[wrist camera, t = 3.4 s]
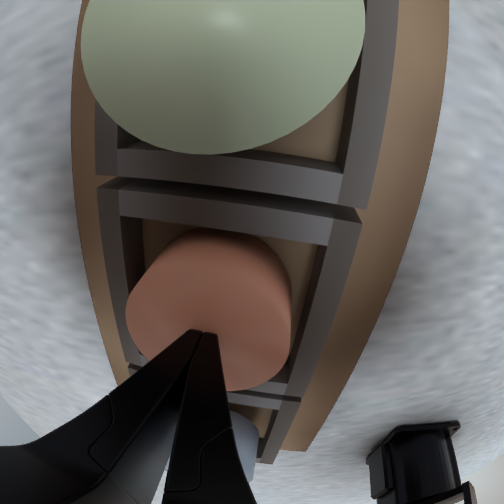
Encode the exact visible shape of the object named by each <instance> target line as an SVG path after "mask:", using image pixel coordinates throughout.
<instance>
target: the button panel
mask: <svg viewBox="0 0 504 504" xmlns="http://www.w3.org/2000/svg"><path fill="white" fill-rule="evenodd" d="M89 1H90V0H82V4H81V10H80V15H79V21H78V28H77V35H76V43H75V52H74V62H73V74H72V92H71V153H72V171H73V184H74V195H75V205H76V213H77V221H78V228H79V235H80V241H81V248H82V253H83V259H84V264H85V269H86V274H87V279H88V284H89V289H90V293H91V297H92V302H93V306H94V310H95V314H96V318H97V321H98V325H99V329H100V332H101V336H102V339H103V343H104V346H105V349H106V353H107V356H108V359H109V362H110V365H111V368H112V371H113V374H114V377H115V380H116V382H117V385H118V386H119V385H120V384H121V383H123V382H124V381H125V380H126V379H128V378H129V377H130V376H132V375H133V374H134V373H135V372H137V371H138V370H139V369H140V368H142V367H143V366H144V365H145V364H147V363H148V362H149V360H148V359H147V358H146V357H145V356H144V355H143V354H142V353H141V352H140V350H139V349H138V348H137V346H136V345H135V343H134V341H133V339H132V338H131V335H130V333H129V331H128V327H127V323H126V316H125V314H126V304H127V300H128V298H129V295H130V293H131V292H132V290H133V289H134V287H135V286H136V285H137V283H138V282H139V280H140V279H141V278H142V277H143V275H144V274H145V273H146V271H147V270H148V269H149V267H150V266H151V265H152V263H153V262H154V261H155V259H156V258H157V257H158V256H159V254H160V253H161V252H162V251H163V249H164V248H165V247H166V245H167V244H168V243H170V242H171V241H172V240H173V239H174V238H176V237H177V236H179V235H180V234H182V233H184V232H186V231H189V230H192V229H196V228H201V227H207V228H214V229H221V230H227V231H234V232H241V233H247V234H249V235H251V236H253V237H255V238H257V239H258V240H260V241H261V242H263V243H264V244H265V245H267V246H268V247H269V248H270V249H271V250H272V251H273V252H274V253H275V254H276V255H277V256H278V257H279V259H280V260H281V261H282V263H283V264H284V266H285V268H286V270H287V272H288V275H289V278H290V281H291V287H292V307H291V331H290V349H289V354H288V357H287V360H286V362H285V364H284V365H283V367H282V369H281V370H280V371H279V372H278V373H277V374H276V375H275V376H274V377H272V378H271V379H270V380H268V381H266V382H265V383H263V384H260V385H258V386H256V387H252V388H249V389H244V390H238V391H227V397H228V403H229V409H230V410H231V411H233V412H236V413H238V414H240V415H242V416H244V417H245V418H247V419H248V420H250V421H251V422H252V423H253V424H254V425H255V426H256V427H257V429H258V431H259V440H258V447H257V454H256V461H255V462H256V463H264V464H273V462H274V460H275V458H276V456H277V454H278V452H279V450H290V451H303V452H306V450H307V449H308V447H309V446H310V444H311V442H312V441H313V439H314V438H315V436H316V435H317V433H318V431H319V430H320V428H321V427H322V425H323V423H324V422H325V420H326V418H327V417H328V415H329V413H330V411H331V410H332V408H333V406H334V405H335V403H336V401H337V399H338V397H339V396H340V394H341V392H342V390H343V388H344V387H345V385H346V383H347V381H348V379H349V377H350V375H351V373H352V371H353V370H354V368H355V366H356V364H357V362H358V360H359V358H360V356H361V354H362V351H363V349H364V347H365V345H366V343H367V341H368V339H369V337H370V335H371V332H372V330H373V328H374V326H375V324H376V321H377V319H378V317H379V314H380V312H381V310H382V307H383V305H384V303H385V300H386V298H387V295H388V293H389V290H390V288H391V285H392V283H393V280H394V278H395V275H396V272H397V270H398V267H399V264H400V262H401V259H402V256H403V253H404V250H405V247H406V244H407V241H408V238H409V235H410V232H411V229H412V226H413V223H414V220H415V216H416V213H417V210H418V206H419V203H420V199H421V196H422V192H423V188H424V185H425V181H426V177H427V173H428V169H429V164H430V160H431V156H432V151H433V147H434V142H435V137H436V132H437V126H438V121H439V115H440V109H441V103H442V96H443V89H444V81H445V72H446V62H447V50H448V34H449V0H363V1H364V8H365V34H364V39H363V45H362V49H361V52H360V55H359V57H358V60H357V63H356V65H355V67H354V69H353V71H352V73H351V75H350V77H349V78H348V80H347V82H346V83H345V85H344V86H343V87H342V89H341V90H340V91H339V93H338V94H337V95H336V97H335V98H334V99H333V100H332V101H331V102H330V103H329V104H328V105H327V106H326V107H325V108H324V109H323V110H322V111H321V112H319V113H318V114H317V115H316V116H314V117H313V118H312V119H311V120H309V121H308V122H307V123H305V124H304V125H302V126H301V127H299V128H297V129H296V130H294V131H292V132H291V133H289V134H287V135H285V136H283V137H281V138H278V139H276V140H274V141H272V142H270V143H267V144H264V145H260V146H257V147H254V148H251V149H247V150H242V151H237V152H233V153H224V154H213V155H207V154H188V153H181V152H174V151H171V150H167V149H164V148H160V147H157V146H154V145H152V144H149V143H147V142H145V141H142V140H140V139H139V138H137V137H135V136H134V135H132V134H130V133H128V132H127V131H126V130H124V129H123V128H122V127H121V126H119V125H118V124H117V123H115V122H114V121H113V119H112V118H111V117H110V116H109V115H108V114H107V113H106V112H105V111H104V110H103V108H102V107H101V106H100V104H99V103H98V101H97V100H96V98H95V96H94V95H93V93H92V91H91V89H90V87H89V84H88V82H87V79H86V76H85V73H84V68H83V63H82V58H81V32H82V25H83V20H84V16H85V12H86V9H87V6H88V3H89Z"/></svg>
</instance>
